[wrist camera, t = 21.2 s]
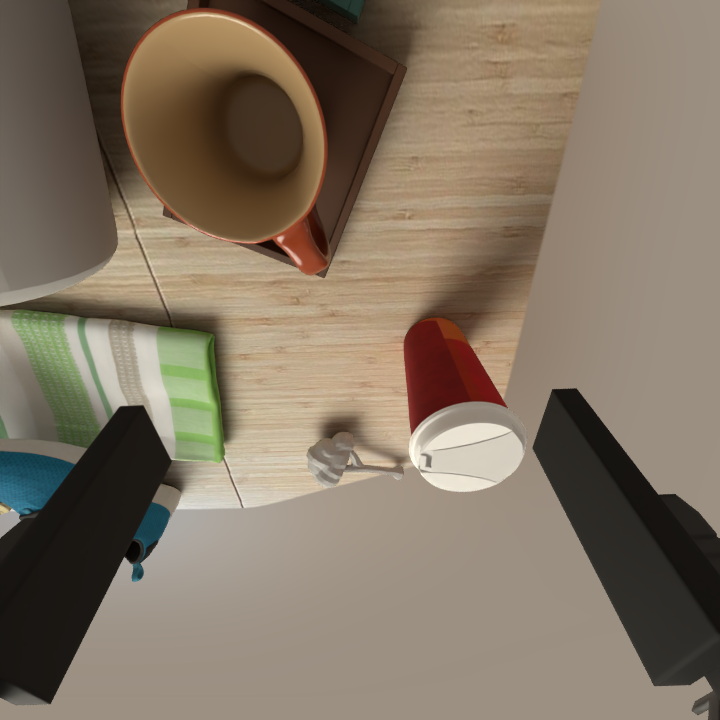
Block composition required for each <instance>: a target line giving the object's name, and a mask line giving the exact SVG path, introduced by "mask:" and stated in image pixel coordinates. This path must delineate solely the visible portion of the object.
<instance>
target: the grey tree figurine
mask: <svg viewBox="0 0 720 720" xmlns="http://www.w3.org/2000/svg"><path fill="white" fill-rule="evenodd" d="M353 446H354V437H353V435H352V434H350V433H348V432H340V433H337V434H336V435H335V436H334V437H333V438H325V439H322V440H320V441H319V442H317V443H316V444H315V445H314V446H312V447H310V448H309V450H308V452H307V458H308V468H309V470H310V472H311V473H312V475H313V478H314V480H315V481H316V482H317V483H318V484H320V485H321V486H322V487H325V488H332V487H334V486H336V485H337V483H338V482H339V479H340V478H341V476H342V474H343V472H370V473H379V474H387V475H392V476H393V477H394V478H395V479H396V480H401V478H402V477H403V474H404V471H403V467H402V466H396V467H394V468H388V467H380V466H371V465H363V463H362V462H361V461H360V459H359V457H358V455H357V454H356V453H355V452H354V451H353V450H352V449H353ZM349 457H350V458H351V461H352V465H347V463H348V460H349Z"/></svg>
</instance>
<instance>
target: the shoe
mask: <svg viewBox="0 0 720 720" xmlns="http://www.w3.org/2000/svg"><path fill="white" fill-rule="evenodd" d="M86 450H87V448H83V447H79V446H75V445H70V444H66V443H62V442H55V441H45V440H35V439H5V438H2V439H0V502H2V503H4V504H6V505H8V506H9V507H11V508H13V509H14V510H15V511H16V512H17V513H19V514H20V516H19V519H20V520H23V519H24V518H35V517H36V516H37V515H38V513H39V512H40V511H41V509H42V508H43V507H44V505H45V504H46V503H47V501H48V500H49V499H50V498H51V496H52V495H53V494H54V492H55V491H56V490H57V488H58V487H59V486H60V484H61V483H62V482H63V480H64V479H65V478H66V476H67V475H68V474H69V473H70V471H71V470H72V469H73V467H74V466H75V465H76V463H77V462H78V461H79V459H80V458H81V457H82V455H83V454H84V453H85V451H86ZM180 497H181V493H180V491H179V490H177V489H176V488H173V487H171V486H168V485H164V484H160V486H159V488H158V490H157V492H156V494H155V496H154V498H153V500H152V502H151V504H150V506H149V508H148V510H147V512H146V514H145V516H144V518H143V520H142V522H141V524H140V526H139V528H138V530H137V532H136V534H135V536H134V538H133V540H132V542H131V544H130V546H129V548H128V550H127V552H126V554H125V556H124V557H125V558H126V559H127V560H128V561H129V562H130V563H131V564H133V574H132V581H133V582H136V581H139V580H140V579H141V578H142V577H143V574H144V572H143V568H142V566H141V564H140V563H141V562H142V561H143V560H145V559H146V558H147V557H148V556H149V555H150V553H151V552H152V550H153V549H154V548H155V546H156V545H157V543H158V540H159V539H160V537H161V536H162V534H163V532H164V530H165V528H166V526H167V523H168V521H169V520H170V518H171V516H172V514H173V512H174V511H175V509H176V507H177V505H178V503H179V500H180Z"/></svg>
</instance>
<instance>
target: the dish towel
mask: <svg viewBox="0 0 720 720" xmlns="http://www.w3.org/2000/svg"><path fill="white" fill-rule="evenodd" d="M214 340H215V336H214V335H213V334H211V333H207V332H201V331H196V330H189V329H178V328H170V327H162V326H153V325H147V324H141V323H136V322H131V321H125V320H118V319H99V318H84V317H78V316H72V315H65V314H57V313H48V312H39V311H30V310H21V309H19V310H0V439H2V438H5V439H35V440H45V441H55V442H62V443H66V444H70V445H75V446H79V447H83V448H87V449H88V448H89V446H90V445H91V444H92V442H93V441H94V440H95V438H96V437H97V436H98V434H99V433H100V432H101V430H102V429H103V428H104V426H105V425H106V424H107V423H108V421H109V420H110V419H111V417H112V416H113V415H114V413H115V412H116V411H117V409H118V408H119V407H120V406H134V405H144V407H145V409H146V411H147V413H148V415H149V417H150V419H151V421H152V423H153V425H154V427H155V429H156V431H157V433H158V435H159V437H160V439H161V441H162V443H163V445H164V446H165V448H166V450H167V452H168V454H169V456H170V458H171V460H182V461H204V462H215V463H220V462H221V461H222V460H223V457H224V456H225V449H224V446H223V444H224V433H223V426H222V416H221V403H220V396H219V389H218V384H217V379H216V361H215V353H214Z"/></svg>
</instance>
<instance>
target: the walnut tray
mask: <svg viewBox="0 0 720 720" xmlns="http://www.w3.org/2000/svg"><path fill="white" fill-rule="evenodd" d="M192 8H216V9H221V10H226V11H230V12H233V13H236V14H239V15H241V16H243V17H246V18H248V19H250V20H252V21H254V22H255V23H257V24H259V25H260V26H262V27H263V28H265V29H266V30H267V31H269V32H270V33H271V34H273V35H274V36H275V37H276V38H277V39H278V40H279V41H280V42H282V43H283V44H284V45H285V47H286V48H287V49H288V50H289V51H290V52H291V53H292V54H293V56H294V57H295V58H296V60H297V61H298V62H299V63H300V65H301V66H302V68H303V70H304V71H305V73H306V74H307V76H308V78H309V80H310V82H311V84H312V85H313V88H314V90H315V92H316V95H317V97H318V99H319V102H320V105H321V108H322V112H323V116H324V120H325V125H326V131H327V143H328V156H327V166H326V172H325V177H324V180H323V184H322V187H321V190H320V193H319V195H318V197H317V200H316V202H315V204H316V208H317V212H318V215H319V217H320V220H321V222H322V224H323V227H324V229H325V232H326V235H327V238H328V241H329V245H330V250H331V261H332V258H333V256H334V253H335V251H336V248H337V245H338V243H339V240H340V238H341V235H342V233H343V230H344V228H345V225H346V223H347V220H348V218H349V215H350V212H351V210H352V207H353V205H354V202H355V200H356V197H357V195H358V192H359V190H360V187H361V185H362V182H363V180H364V177H365V174H366V172H367V169H368V167H369V164H370V162H371V159H372V157H373V154H374V152H375V149H376V147H377V144H378V141H379V139H380V136H381V134H382V131H383V129H384V126H385V124H386V121H387V119H388V116H389V114H390V111H391V109H392V106H393V103H394V101H395V98H396V96H397V93H398V91H399V88H400V86H401V83H402V81H403V78H404V76H405V73H406V70H407V67H405V66H403V65H402V64H400V63H398V62H396V61H395V60H393V59H391V58H389V57H387V56H386V55H384V54H382V53H380V52H379V51H377V50H375V49H373V48H372V47H370V46H368V45H366V44H364V43H363V42H361V41H359V40H357V39H356V38H354V37H352V36H350V35H349V34H347V33H345V32H343V31H341V30H340V29H338V28H336V27H334V26H333V25H331V24H329V23H327V22H326V21H324V20H322V19H320V18H318V17H317V16H315V15H313V14H311V13H310V12H308V11H306V10H304V9H303V8H301V7H299V6H297V5H295V4H294V3H292V2H290V1H288V0H188V5H187V9H192ZM163 216H165V217H168V218H172V219H173V220H176V221H178V222H181V223H183V224H186V223H184V222H183V221H182V220H180V219H179V218H178V217H176V216H175V215H174V214H173V213H172V212H171V211H170V210H168V209H167V208H166V207H165V206H164V210H163ZM186 225H188V224H186ZM232 243H235V242H232ZM235 244H238V245H240V246H243V247H245V248H248V249H250V250H253V251H256V252H258V253H261V254H263V255H266V256H268V257H271V258H274V259H276V260H279V261H281V262H284V263H286V264H289V265H292V266H294V267H297V266H296V265H295V264H294V262H293V261H292V260H291V258H290V257H289V256H288V254H287V253H286V252H285V251H284V250H283V249H282V248H281V247H279V246H278V245H277V244H276V243H275V242H274V240H273V239H271V240H267V241H264V242H261V243H255V244H244V243H235ZM331 261H330V263H331ZM329 266H330V264H329ZM329 266H328V267H327V268H326V269H324V270H322V271H321V272H319V273H317V274H315V275H318V276H320V277H322V278H325V276H326V273H327V271H328V268H329ZM297 268H298V267H297Z"/></svg>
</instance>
